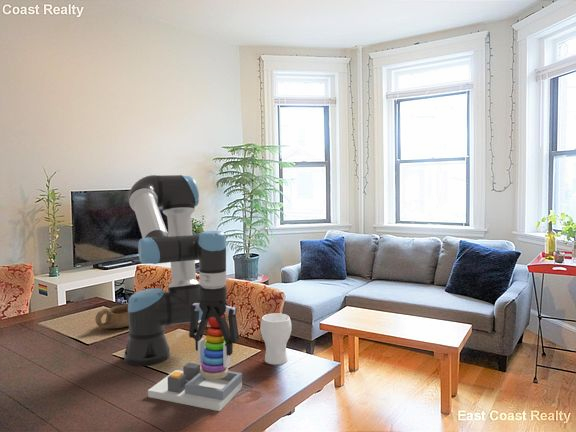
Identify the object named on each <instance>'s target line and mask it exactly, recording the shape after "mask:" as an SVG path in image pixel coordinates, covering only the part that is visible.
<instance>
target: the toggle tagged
mask: <svg viewBox="0 0 576 432" xmlns="http://www.w3.org/2000/svg"><path fill="white" fill-rule="evenodd" d="M173 372H174V371H173ZM170 374H171V373H170ZM170 374H169V375H170ZM185 384H186V375H184V374H183V373H181V372H174V373H173V374H171V375H170V376H169V377H168V391H172V392H177V393H181V392H182V391H183V390H184V389H185Z"/></svg>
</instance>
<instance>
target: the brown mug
mask: <svg viewBox="0 0 576 432" xmlns="http://www.w3.org/2000/svg"><path fill="white" fill-rule="evenodd" d="M104 315H105V317H106V318H105V322H102V318H103V316H104ZM94 319H95V323H96V325H97V326H98V327H99V328H101V329H122V328H126V327H127V328H129V312H128V303H127V304H126V303H125V304H121V305H115V306H113V307H109V308H104V309H100V310H99V311H98V312H97V314H96V315H95V317H94Z"/></svg>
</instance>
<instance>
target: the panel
mask: <svg viewBox="0 0 576 432" xmlns="http://www.w3.org/2000/svg"><path fill="white" fill-rule="evenodd" d="M174 372H181V373H183V370H179V369H175V370H173V371H172V372H171V373H170V374H168V375H167V376H165V377H164V378H162V380H160V381H158V382H157V383H156V384H154V385H153V386H151V387H150V388H149V389H147V397H148V398H151V399H158V400H160V401H161V400H162V401H165V402H166V401H167V402H171V403H176V404H181V405H187V406H191V407H197V408H200V409H201V408H202V409H206V410H212V411H218V412H220V411H222V410H223V408H225V406H226V405H227V404H228V403H230V401H231V400H232V399H233V398H234V397H235V396H236V395H237V394H238V392H240V391H241V389H242V388H243V381H242V382H241V383H240V384H239V385H238V386H237V387H236V388H235V389H234V390H233V391H232V392H231V393H230V394H229V395H228V396H227V397H226V398H225V399H224V400H218V399H212V398H207V397H202V396H197V395H191V394H186V393H185V389H184V390H183V391H182V392H181V393H177V392H172V391H168V377H169V376H170V375H171V374H173V373H174ZM188 382H189V380H186V383H188ZM229 382H230V381H227V380H222V379H207V378H206V379H205V380H204V381H203V382H201V383H200V384H199V385H200V386H205V387H211V388H216V389H223V388H224V387H225V386H226V385H227V384H228V383H229Z"/></svg>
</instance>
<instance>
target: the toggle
mask: <svg viewBox="0 0 576 432" xmlns="http://www.w3.org/2000/svg"><path fill="white" fill-rule="evenodd" d="M182 371H183V374H184V375H186V380H189V381H190V380H191V379H193V378H194V377H195V376H196V375H198V374H199V373H200V371H201V364H200V363H194V362H187V363H186V364H184V365H183V370H182Z"/></svg>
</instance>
